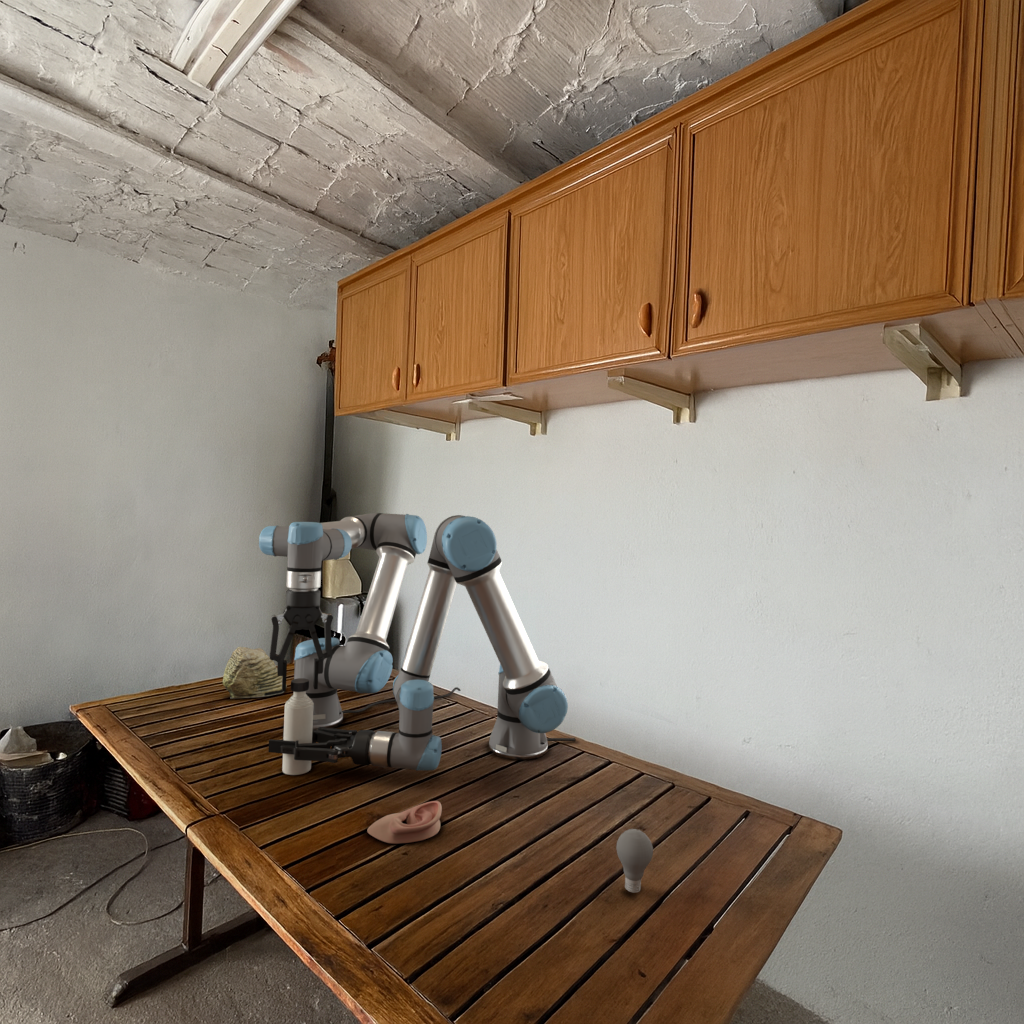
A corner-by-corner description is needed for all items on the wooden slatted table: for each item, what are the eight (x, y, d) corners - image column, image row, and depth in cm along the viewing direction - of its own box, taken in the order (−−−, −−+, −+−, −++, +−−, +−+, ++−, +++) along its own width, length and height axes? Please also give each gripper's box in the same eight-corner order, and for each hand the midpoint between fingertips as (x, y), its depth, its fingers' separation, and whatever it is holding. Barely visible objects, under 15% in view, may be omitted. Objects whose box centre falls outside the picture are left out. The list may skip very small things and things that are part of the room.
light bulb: (610, 879, 108) (613, 822, 108) (644, 879, 109) (647, 822, 109) (619, 902, 102) (622, 840, 102) (655, 901, 103) (658, 840, 103)
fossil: (218, 695, 195) (220, 647, 195) (278, 685, 208) (279, 640, 207) (228, 703, 189) (230, 653, 188) (289, 692, 201) (290, 645, 201)
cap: (287, 689, 146) (287, 680, 146) (302, 685, 149) (303, 677, 149) (296, 693, 143) (296, 684, 143) (312, 689, 146) (312, 680, 146)
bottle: (303, 776, 143) (306, 688, 143) (277, 773, 144) (280, 686, 144) (315, 764, 149) (319, 680, 149) (290, 762, 150) (293, 678, 150)
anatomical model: (360, 817, 118) (385, 790, 129) (359, 839, 118) (384, 809, 129) (428, 828, 115) (447, 799, 126) (427, 850, 115) (446, 819, 126)
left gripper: (258, 592, 139) (255, 696, 139) (348, 590, 146) (344, 690, 146) (258, 587, 146) (254, 686, 146) (343, 586, 153) (340, 681, 153)
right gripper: (357, 783, 135) (255, 773, 137) (385, 748, 154) (294, 740, 157) (359, 748, 135) (256, 739, 137) (386, 717, 154) (295, 710, 157)
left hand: (299, 688), depth 146 cm, fingers open, 6 cm apart
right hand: (276, 739), depth 147 cm, fingers closed on bottle, 6 cm apart
